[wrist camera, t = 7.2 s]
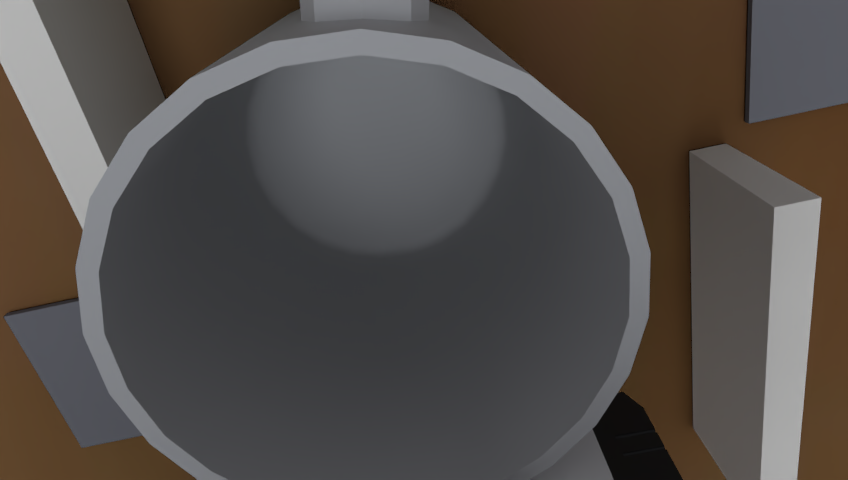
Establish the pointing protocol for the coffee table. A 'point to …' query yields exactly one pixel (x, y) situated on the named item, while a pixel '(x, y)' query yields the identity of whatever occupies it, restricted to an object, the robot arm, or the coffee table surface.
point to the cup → (364, 259)
